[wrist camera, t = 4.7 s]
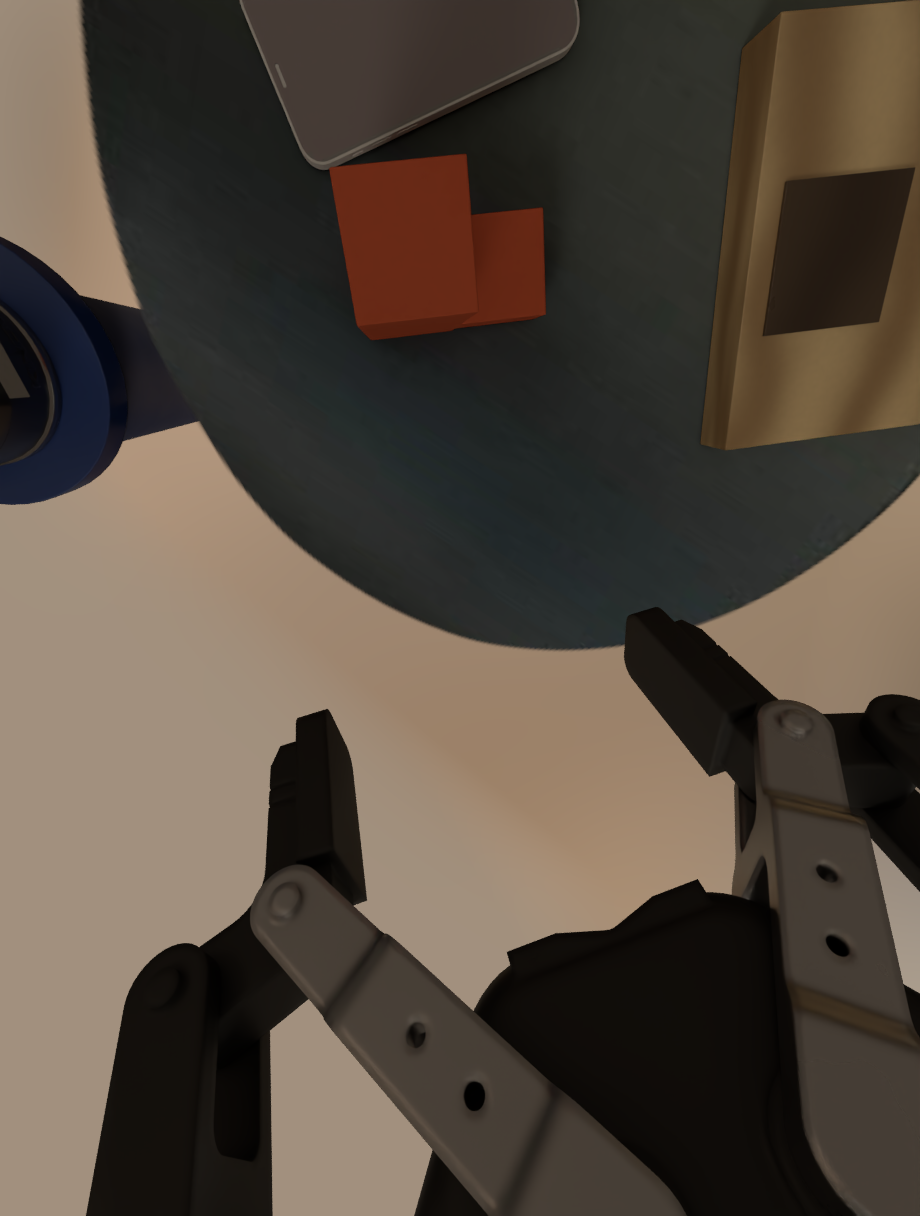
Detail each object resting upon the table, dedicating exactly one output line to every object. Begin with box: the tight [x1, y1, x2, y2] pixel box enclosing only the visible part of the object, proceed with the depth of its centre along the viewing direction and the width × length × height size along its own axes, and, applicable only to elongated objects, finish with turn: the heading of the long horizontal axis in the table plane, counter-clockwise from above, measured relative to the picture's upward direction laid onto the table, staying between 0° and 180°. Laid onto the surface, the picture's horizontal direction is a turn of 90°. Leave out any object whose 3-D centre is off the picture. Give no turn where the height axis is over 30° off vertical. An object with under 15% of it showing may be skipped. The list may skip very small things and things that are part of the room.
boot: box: [329, 154, 546, 340], centre depth 24 cm, size 10×5×11 cm, turn 96°
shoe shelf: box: [700, 0, 920, 450], centre depth 28 cm, size 18×20×7 cm
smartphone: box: [240, 0, 579, 170], centre depth 23 cm, size 7×1×15 cm
